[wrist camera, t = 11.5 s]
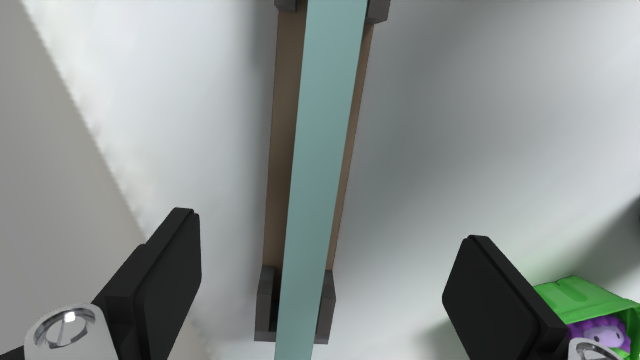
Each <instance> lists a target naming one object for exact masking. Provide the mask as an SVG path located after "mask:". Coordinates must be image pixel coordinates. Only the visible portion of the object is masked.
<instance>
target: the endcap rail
mask: <svg viewBox="0 0 640 360" xmlns="http://www.w3.org/2000/svg"><path fill="white" fill-rule="evenodd" d="M390 1H391V0H368V1H367V7H366V13H365V20H364V26H363V32H362V39H361V45H360V51H359V58H358V64H357V70H356V77H355V83H354V89H353V96H352V102H351V108H350V115H349V121H348V127H347V134H346V140H345V146H344V153H343V159H342V165H341V172H340V178H339V184H338V191H337V197H336V203H335V210H334V216H333V222H332V229H331V235H330V241H329V248H328V254H327V260H326V267H325V273H324V279H323V286H322V292H321V298H320V305H319V311H318V317H317V324H316V330H315V336H314V343H313V344H328V340H329V335H330V329H331V324H332V318H333V313H334V307H335V302H336V296H335V288H334V280H333V272H332V268H333V262H334V257H335V251H336V245H337V239H338V233H339V227H340V221H341V215H342V209H343V203H344V198H345V192H346V186H347V180H348V174H349V168H350V162H351V156H352V150H353V144H354V138H355V133H356V127H357V121H358V115H359V109H360V103H361V97H362V91H363V85H364V79H365V74H366V68H367V62H368V56H369V50H370V44H371V38H372V32H373V26H374V24H376V23H379V22H383V21H386V20H387V17H388V12H389V6H390ZM274 4H275V6H276V7H277V9H278V10H279V16H278V32H277V47H276V63H275V78H274V93H273V109H272V124H271V140H270V155H269V170H268V186H267V201H266V217H265V232H264V247H263V263H262V270H261V275H260V280H259V286H258V291H257V301H256V318H255V335H254V341H265V342H276V335H277V324H278V313H279V302H280V292H281V281H282V271H283V260H284V250H285V239H286V228H287V218H288V207H289V197H290V186H291V176H292V165H293V155H294V144H295V134H296V123H297V112H298V102H299V91H300V81H301V70H302V60H303V49H304V39H305V28H306V18H307V7H308V0H274Z"/></svg>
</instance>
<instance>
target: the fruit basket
mask: <svg viewBox="0 0 640 360" xmlns="http://www.w3.org/2000/svg"><path fill="white" fill-rule="evenodd" d="M533 288H534V289H535V290H536V292H537V293H538V294H539V295H540V296H541V297H542V298H543V299H544V301H545V302H546V303H547V304H548V305H549V306H550V307H551V308H552V310H553V311H554V312H555V313H556V314H557V315H558V316H559V318H560V319H561V320H562V321H563V322H564V323H565V324H566V325H567V327H568V328H569V330H568V332H567V333H566V336H567V338H568V339H569V340H572V339H574V338H586V339H590V340H593V341H595V342H598V343H600V344H602V345H604V346H606V347H607V348H609V349H611V350H612V351H614V352H615V353H616V354H618V355H619V356H620V357H621V358H622V359H624V360H639V354H640V304H639V303H637V302H634V301H632V300H629V299H624V298H622V297H620V296H617V295H615V294H613V293H611V292H609V291H607V290H605V289H603V288H601V287H598V286H596V285H594V284H592V283H590V282H588V281H586V280H584V279H582V278H580V277H578V276H571V277H567V278H564V279H560V280H558V281H556V282H555V283H553V282H552V283H545V284H541V285H538V286H534V287H533Z"/></svg>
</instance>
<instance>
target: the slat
mask: <svg viewBox="0 0 640 360" xmlns="http://www.w3.org/2000/svg"><path fill="white" fill-rule="evenodd" d="M367 1H368V0H308V7H307V18H306V28H305V39H304V49H303V60H302V70H301V81H300V91H299V102H298V112H297V123H296V134H295V144H294V155H293V165H292V176H291V186H290V197H289V207H288V218H287V228H286V239H285V250H284V260H283V271H282V281H281V292H280V302H279V313H278V324H277V335H276V345H275V356H274V360H311V355H312V349H313V343H314V336H315V330H316V324H317V317H318V311H319V305H320V298H321V292H322V286H323V279H324V273H325V267H326V260H327V254H328V248H329V241H330V235H331V229H332V222H333V216H334V210H335V203H336V197H337V191H338V184H339V178H340V172H341V165H342V159H343V153H344V146H345V140H346V134H347V127H348V121H349V115H350V108H351V102H352V96H353V89H354V83H355V77H356V70H357V64H358V58H359V51H360V45H361V39H362V32H363V26H364V20H365V13H366V7H367Z"/></svg>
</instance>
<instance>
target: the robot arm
mask: <svg viewBox="0 0 640 360" xmlns="http://www.w3.org/2000/svg"><path fill="white" fill-rule="evenodd" d="M201 277H202V273H201V246H200V219H199V214H197V213H194V210H193V209H189V208H178V207H175V208H174V209H173V210H172V211H171V212H170V214H169V215H168V216H167V217H166V219H165V220H164V221H163V222H162V224H161V225H160V226H159V227H158V229H157V230H156V231H155V232H154V234H153V235H152V236H151V237H150V239H149V240H148V241H147V242H146V244H141V245H139V246H138V247H137V248H136V249H135V250H134V251H133V253H132V254H131V255H130V256H129V257H128V259H127V260H126V261H125V262H124V263H123V265H122V266H121V267H120V268H119V270H118V271H117V272H116V273H115V274H114V276H113V277H112V278H111V280H110V281H109V282H108V283H107V284H106V285H105V286H104V288H103V289H102V290H101V291H100V293H99V294H98V295H97V296H96V297H95V299H94V300H93V301H92V302H91V303H90V304H88V303H77V304H71V305H67V306H63V307H60V308H58V309H56V310H54V311H51V312H49V313H48V314H46V315H45V316H43V317H41V318H40V319H39V320H38V321H36V322H35V323H34V324H33V325H32V326H31V327H30V329H29V330H28V332H27V333H26V335H25V339H24V345H23V346H21V347H18V348H16V349H14V350H11V351H9V352H7V353H5V354H2V355H0V360H167V358H168V356H169V354H170V351H171V349H172V347H173V345H174V343H175V340H176V338H177V336H178V333H179V331H180V329H181V327H182V325H183V322H184V320H185V318H186V316H187V313H188V311H189V309H190V307H191V304H192V302H193V300H194V298H195V295H196V293H197V291H198V289H199V286H200V283H201ZM442 302H443V306H444V308H445V310H446V312H447V314H448V316H449V318H450V320H451V322H452V324H453V326H454V328H455V330H456V332H457V334H458V336H459V338H460V340H461V342H462V344H463V346H464V348H465V350H466V352H467V354H468V356H469V358H470V360H624V359H622V358H621V357H620V356H619V355H618V354H616V353H615V352H614V351H612V350H611V349H609V348H607V347H606V346H604V345H602V344H600V343H598V342H595V341H593V340H590V339H586V338H574V339H572V340H569V339H568V338H567V336H566V333H567V332H568V330H569V328H568V327H567V325H566V324H565V323H564V322H563V321H562V320H561V319H560V318H559V316H558V315H557V314H556V313H555V312H554V311H553V310H552V308H551V307H550V306H549V305H548V304H547V303H546V302H545V301H544V299H543V298H542V297H541V296H540V295H539V294H538V293H537V292H536V290H535V289H534V288H533V287H532V286H531V285H530V284H529V282H528V281H527V280H526V279H525V278H524V277H523V276H522V275H521V273H520V272H519V271H518V270H517V269H516V268H515V267H514V265H513V264H512V263H511V262H510V261H509V260H508V259H507V258H506V256H505V255H504V254H503V253H502V252H501V251H500V250H499V248H498V247H497V246H496V245H495V244H494V243H493V242H492V241H491V239H490V238H489V237H487V236H479V235H469V236H468V237H467V238H465V239H463V241H462V243H461V246H460V248H459V251H458V254H457V256H456V259H455V262H454V265H453V267H452V270H451V273H450V275H449V278H448V281H447V284H446V286H445V289H444V292H443V295H442Z"/></svg>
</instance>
